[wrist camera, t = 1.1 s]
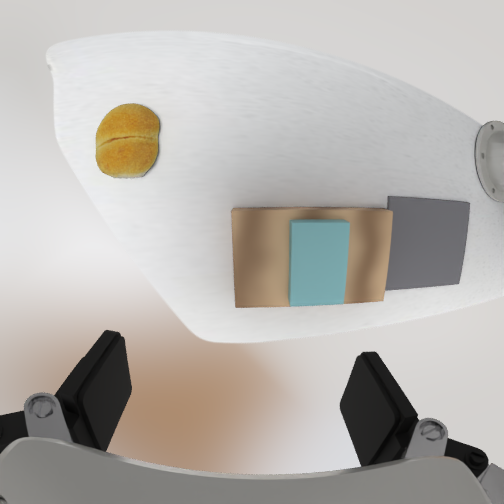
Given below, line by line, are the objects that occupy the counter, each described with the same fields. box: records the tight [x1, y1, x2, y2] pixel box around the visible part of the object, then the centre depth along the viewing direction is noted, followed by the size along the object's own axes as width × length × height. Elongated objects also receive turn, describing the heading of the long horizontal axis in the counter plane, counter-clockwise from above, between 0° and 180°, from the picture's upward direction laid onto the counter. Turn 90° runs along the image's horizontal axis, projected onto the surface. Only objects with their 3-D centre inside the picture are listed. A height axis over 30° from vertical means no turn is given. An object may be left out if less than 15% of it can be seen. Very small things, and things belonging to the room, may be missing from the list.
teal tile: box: [288, 219, 350, 307], centre depth 30 cm, size 6×9×2 cm, turn 1°
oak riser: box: [231, 207, 393, 308], centre depth 32 cm, size 18×11×2 cm, turn 91°
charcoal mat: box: [385, 196, 470, 290], centre depth 33 cm, size 14×12×1 cm
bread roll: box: [96, 103, 159, 178], centre depth 28 cm, size 8×9×4 cm
